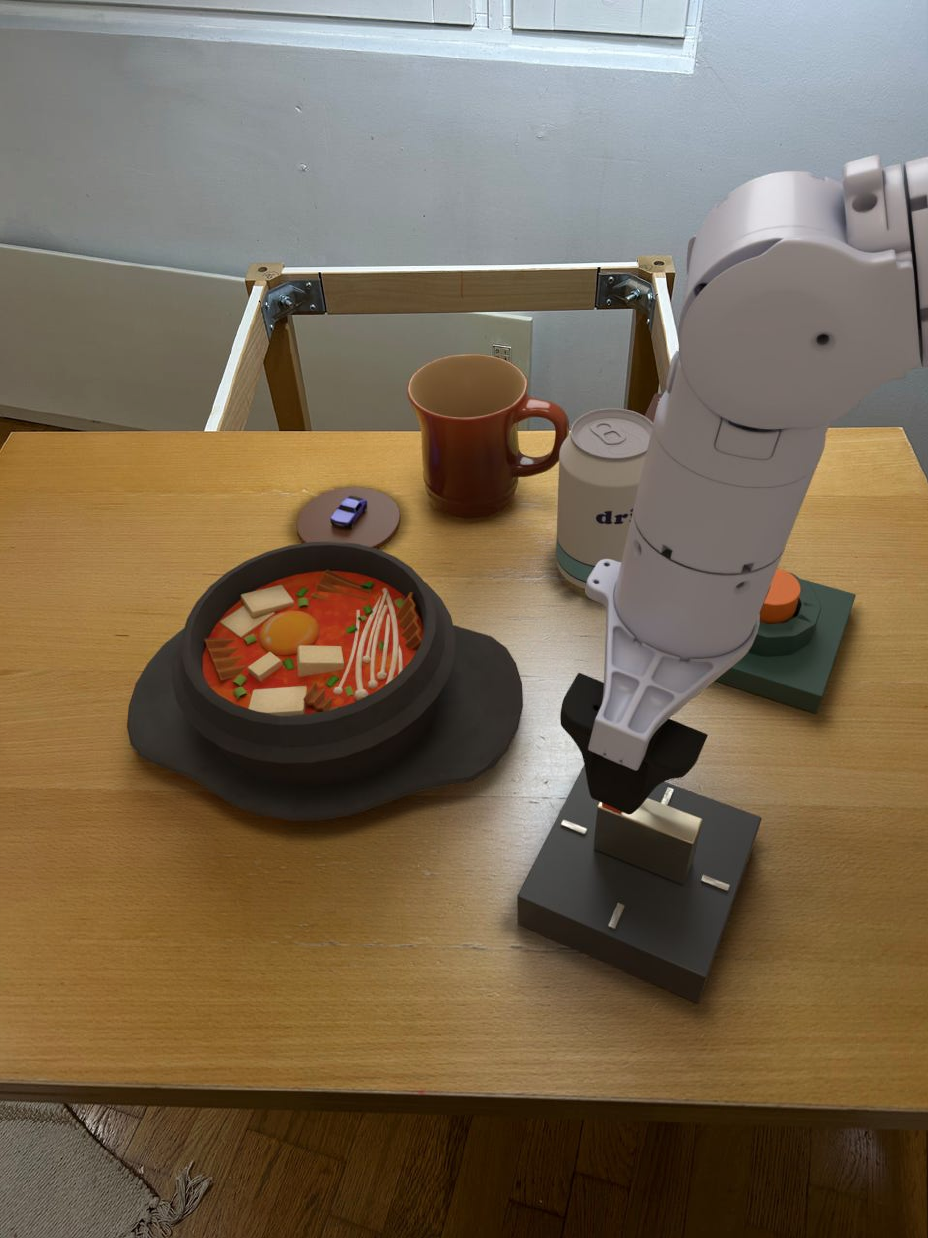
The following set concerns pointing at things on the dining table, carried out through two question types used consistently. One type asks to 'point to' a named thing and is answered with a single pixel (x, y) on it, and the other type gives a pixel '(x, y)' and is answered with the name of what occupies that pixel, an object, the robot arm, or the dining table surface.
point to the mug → (477, 432)
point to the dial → (649, 838)
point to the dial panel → (639, 892)
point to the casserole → (324, 687)
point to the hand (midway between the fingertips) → (641, 739)
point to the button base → (796, 649)
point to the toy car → (349, 517)
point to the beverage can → (598, 488)
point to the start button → (780, 598)
